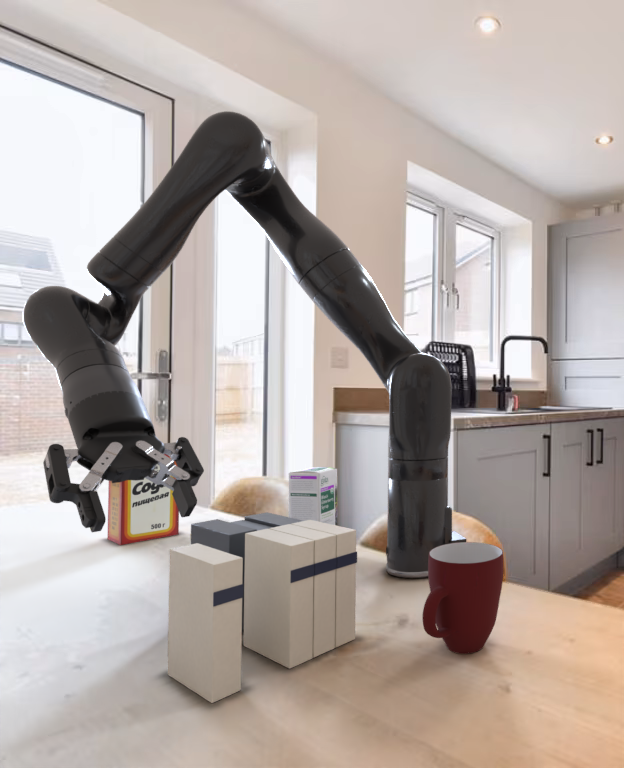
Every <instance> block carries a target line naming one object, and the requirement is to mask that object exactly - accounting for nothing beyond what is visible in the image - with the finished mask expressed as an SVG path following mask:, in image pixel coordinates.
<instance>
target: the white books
mask: <svg viewBox="0 0 624 768" xmlns="http://www.w3.org/2000/svg"><path fill="white" fill-rule="evenodd" d="M357 563H358V551H357V529H355V528H349V527H344V526H340V525H338V526H336V525H332V524H327V523H323V522H318V521H314V520H306V521H301V522H297V523H292V524H287V525H282V526H278V527H273V528H269V529H263V530H259V531H254V532H249V533H245V576H244V632H243V646H244V647H246V648H247V649H249V650H251V651H253V652H255V653H258V654H259V655H261V656H262V657H264V658H265V657H266V658H267V659H268V660H271V661H273V662H275V663H277V664H279V665H281V666H283V667H285V668H287V669H289V670H290V669H292V668H295V667H298V666H299V665H301V664H304V663H306V662H308V661H310V660H312V659H315V658H316V657H318V656H322V655H323V654H325V653H328V652H329V651H333V650H334V649H335V648H338V647H341V646H344V645H345V644H347V643H349V642H351V641H354V640H355V639H356V606H357V605H356V604H357V603H356V602H357V600H356V599H357V598H356V597H357V596H356V595H357V594H356V593H357V589H356V588H357Z"/></svg>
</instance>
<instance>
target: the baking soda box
mask: <svg viewBox="0 0 624 768" xmlns="http://www.w3.org/2000/svg"><path fill="white" fill-rule="evenodd" d="M164 455H165V456H167V457H169V456H168V455H166V454H164ZM169 458H170V457H169ZM170 459H171V458H170ZM174 462H175V461H174ZM175 465H176V466H177V464H176V462H175ZM154 470H155V471H157V472H159V470H160V466H159V465H158V464H157V465H156V466H155V468H154ZM170 476H171V475H170ZM171 477H172V476H171ZM172 478H174V477H172ZM174 479H176V478H174ZM107 491H108V497H107V540H108V541H110V542H113V543H115V544H117V545H119V546H124V545H130V544H134V543H140V542H145V541H150V540H155V539H161V538H166V537H167V538H168V537H171V536H172V537H173V536H176V535H179V530H180V529H179V528H180V525H179V524H180V513H179V510H178V508H177V505H176V503H175V500H174V498H173V495H172V493H173V491H172V490H171V489H169V488H167V487H166V486H164V485H162V484H159V485H157V484H155V483H153V482H151V481H150V480H148V479H146V478H144V480H126V481H123V482H118V483H112V482H111V481H108V490H107Z"/></svg>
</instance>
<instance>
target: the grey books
mask: <svg viewBox="0 0 624 768" xmlns="http://www.w3.org/2000/svg"><path fill="white" fill-rule="evenodd" d="M301 521H303V520H299V519H294V518H290V517H289V516H287V515H281V514H276V513H272V512H269V511H268V512H267V511H266V512H261V513H256V514H250V515H245V516H244V519H240V520H235V521H227V520H223V519H222V520H221V519H218V518H216V519H210V520H205V521H199V522H194V523H191V524H190V545H191V544H196V543H199V544H202V545H205V546H208V547H211V548H214V549H217V550H220V551H223V552H226V553H229V554H232V555H236V556H239V557H242V558H243V572H242V584H243V598H242V633H244V576H245V533H249V532H254V531H259V530H263V529H269V528H273V527H278V526H282V525H287V524H292V523H297V522H301Z"/></svg>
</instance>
